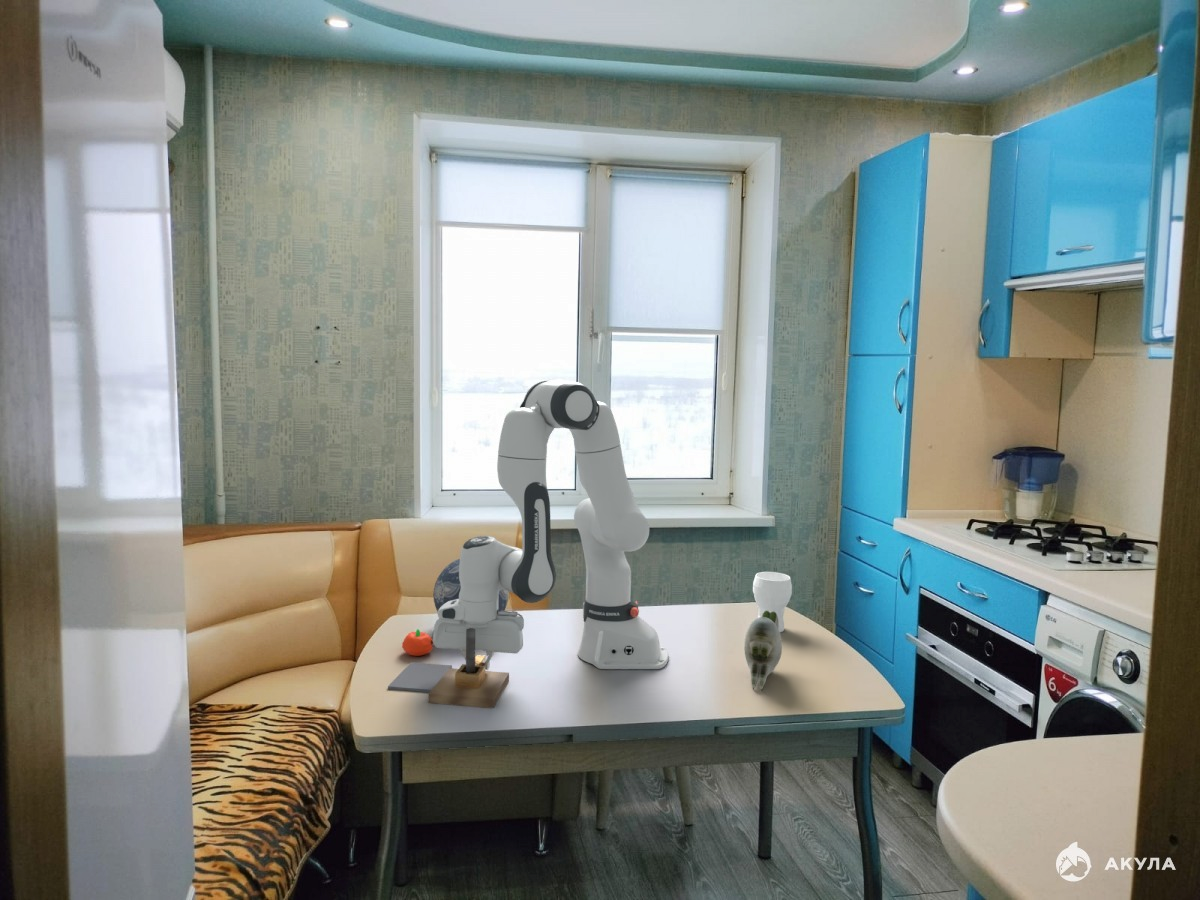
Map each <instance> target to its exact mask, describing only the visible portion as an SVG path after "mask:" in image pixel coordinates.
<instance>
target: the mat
mask: <svg viewBox="0 0 1200 900" xmlns="http://www.w3.org/2000/svg"><path fill="white" fill-rule="evenodd" d="M449 668H453V665H449V664H439V663H437V664H436V663H428V662H427V663H426V662H425V663H424V662H412V661H411V662H410V663H408V665H406V667H405V668H404V669H403V670H402V671H401V672H400V673H399V674H398V675H397V676H396V677H395V678H394V679H393V680H392V681H391V682H390V683H389V684H388V686H387V690H396V691H409V692H419V693H420V692H423V693H429V692H430V691H431V690H432V689H433V688H434V686H435V685H436V684H437V683H438V681H439V680H440V679H441V678H442V677H443V675H444V674H445V673H446V672H447V670H448V669H449Z"/></svg>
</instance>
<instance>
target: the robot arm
mask: <svg viewBox="0 0 1200 900" xmlns="http://www.w3.org/2000/svg"><path fill="white" fill-rule="evenodd" d="M615 419H616V418H615V416H614V414H613V411H612V409H611V408H610V406H609V405H608V404H606V403H605V402H602V401H599V400H598V401H597V400H596V398H595V396H594V394H593V392H592V390H590V389H589V388H588V387H587V386H586V385H585V384H582V383H581V382H578V381H569V380H563V379H555V380H544V381H539V382H537V383H535V384H533V385H532V386H531V387H530V388H529V389H528V390H527V392H526V394H525V396H524V398H523V401H522V402H521V404H520V406H519V408H514V409H512V410H511V411H509V412H508V413H506V416H505V418H504V419H503V420H504V421H503V424H502V427H501V432H500V437H499V442H498V451H497V452H498V453H497V463H496V465H497V466H496V468H497V478H498V483H499V486H501V488H502V489H503V491H504V492H505V493H506V494H507V495H508V496H509V497H510V498H511V500H512V501H513V502H514V504H515V505H516V507H517V508H518V511H519V513H520V516H521V530H522V531H521V532H522V533H521V537H522V538H521V539H522V540H521V541H522V543H521V545H522V548H519V547H516V546H512V545H509V544H506V543H504V542H502V541H499V540H497V539H496V538H495V537H494V536H490V535H484V536H483V535H480V536H479V535H478V536H475V537H472V538H470V539H468V540H466V542H464V544H462V547H461V550H460V556H459V559H460V564H459V580H460V583H461V589H460V593H459V599H456V600H451V601H448V602H446V603H445V604H444V605H442V606H441V607H440V608H439V610H438V612H437V618H438V619H437V620H436V621H435V623H434V626H433V633H432V634H433V635H432V640H433V646H434V647H435V648H437V649H446V650H447V649H451V650H461V655H462V657H463V659H464V660H465V661H466V629H469V628H474V629H475V630H476V631H475V652H485V654H486V655H485V656H487V658H486V659H485V660H483V661H482V662H481V666H485V671H489V670H490V669H489V668H490V660H492V657H493V656H494V654H495V653H504V654H515V655H516V654H519V653H520V651H521V650H522V649H523V646H524V634H523V629H524V628H525V619H524V617H523V615H522V614H521V613H518V611H514V610H512V611H511V610H510V611H508V610H504V611H503V610H498V601H499V591H500V590H503V589H507V590H508V591H509V593H512V594H514V595H515V596H517V597H518V598H519V599H520V600H521V601H523V602H525V603H527V604H536V603H540V602H541V601H542V600H544V599H545V598H547V597H548V596H549V595H550V594H551V593H552V591H553V590H554V587H555V584H556V581H557V571H556V568H555V564H554V562H553V557H552V542H551V537H552V536H551V535H552V533H551V531H552V530H551V503H550V497H549V491H548V485H547V457H548V456H547V455H548V443H549V439H550V437H551V434H552V433H553V432H554V430H555V429H568V430H569V432H570V433H571V436H572V438H573V445H574V452H575V456H576V465H577V470H578V475H579V481H580V483H581V486H582V487H583V489H584V490H585V492H586V493H587V495H588V497H587V498H584V499H583V500H582V501H580V502H579V504H577V506H576V508H575V510H574V514H573V518H574V524H575V526H576V528H577V530H578V533H579V536H580V540H581V541H580V542H581V545H582V550H583V555H584V562H585V582H586V583H585V598H584V600H583V605H582V606H583V608H582V618H583V629H582V630H583V631H582V636H581V641H580V645H579V648H578V650H577V651H578V652H577V656H578V657H579V658H580V659H581V660H582V661H584V662H586V663H588V664H591V665H593V666H595V667H596V668H597V669H600V670H660V669H662V668H664V667H665V666H666V665H667V663H668V662H669V652H668V650H667V648H666V647H664V646H662V645H661V644H660V638H659V635H658V632H657V630H656V629H655V628H654V627H653V626H652V625H650V624H649V623H648V622H647V621H645V619H643V618H642V617H640V616H639V613H640V609H639V604H638V601H637V600H636V601H634V600H632V599H631V589H632V588H631V586H632V584H631V583H632V569H631V566H630V564H629V562H628V560H627V558H626V555H625V552H626V553H627V552H634V551H635V552H636V551H638V550H640V549H641V548H643V546H644V545H645V544H646V542H647V541H648V538H649V536H650V524H649V521H648V519H647V518H646V516H645V515H644V514H643V513H642V511H641V509H640V507H639V505H638V503H637V501H636V498H635V496H634V494H633V491H632V488H631V486H630V483H629V481H628V480H629V479H628V478H627V477H628V476H627V473H626V469H625V465H624V464H625V463H624V457H623V452H622V445H621V441H620V434H619V431H618V430H619V429H618V426H617V423H616V420H615Z"/></svg>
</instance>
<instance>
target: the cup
mask: <svg viewBox="0 0 1200 900" xmlns="http://www.w3.org/2000/svg"><path fill="white" fill-rule="evenodd" d="M752 593H753V596H754V600H755V602H756V605H757V611H758V616H757V618H759V617H761V616H762V614H763V613H764V612H765V611H769V612H770V613H771V612H773V611H774V612H775V613H776V614H777V617H778V630H779V633H782V632H784V631H785V622H784V614H785V609H786V607H787V605H788V604H789V603H790V600H791V597H792V595H793V594H792V593H793V585H792V579H791V576H790V575H787V574H786V573H783V572H782V573H781V572H776V571H762V572H757V573H756V574H755V575H754V579H753V581H752Z"/></svg>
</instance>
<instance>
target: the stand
mask: <svg viewBox="0 0 1200 900" xmlns="http://www.w3.org/2000/svg"><path fill="white" fill-rule="evenodd" d="M475 631H476V630H475V629H474V628H469V629H466V660H465V664H466V673H475V657H476V651H475ZM458 669H459V668H453V667H452V668H449V669H448V670H447V672H446V673H445V674H444V675H443V677H442V678H441V679H440V680H439V681H438V683H437V684H436V685H435V686H434V688H433V689H432V690H431V691H430V692H428V704H442V705H451V706H452V705H453V706H462V707H463V706H464V707H465V706H466V707H475V708H476V707H477V708H489V709H493V708H495V706H496V704H497V703H498V700H499V699H500V697H501V695H502V694H503V692H504V690H505V689H506V687H507V685H508V684H509V682H510V672H504V671H493V670H490V671H489V670H485V680H484V681H483V683H482V684H481V686H480V687H479V689H477V688H465V687H455V673H456V672H457V671H458Z"/></svg>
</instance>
